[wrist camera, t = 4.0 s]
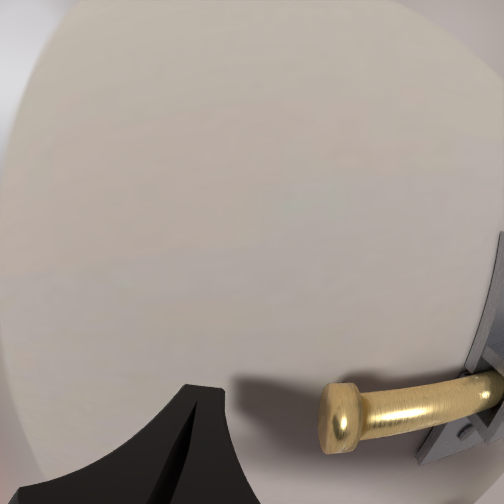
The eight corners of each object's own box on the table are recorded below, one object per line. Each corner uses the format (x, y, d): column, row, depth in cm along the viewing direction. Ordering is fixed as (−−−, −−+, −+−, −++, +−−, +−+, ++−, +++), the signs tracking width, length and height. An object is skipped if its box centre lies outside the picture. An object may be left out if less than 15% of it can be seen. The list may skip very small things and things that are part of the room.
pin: (520, 377, 10) (542, 398, 7) (314, 418, 10) (324, 467, 7) (536, 339, 9) (562, 358, 7) (327, 369, 9) (344, 418, 7)
